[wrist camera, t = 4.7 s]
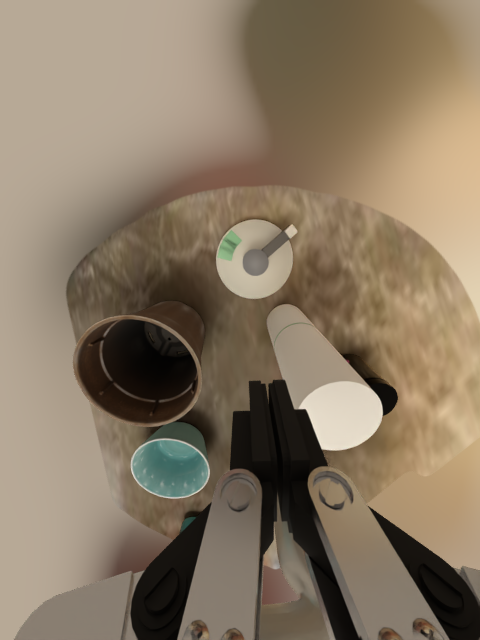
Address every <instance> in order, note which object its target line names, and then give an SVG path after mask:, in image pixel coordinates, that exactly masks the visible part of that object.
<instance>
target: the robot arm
mask: <svg viewBox="0 0 480 640" xmlns="http://www.w3.org/2000/svg"><path fill="white" fill-rule="evenodd" d="M249 394H250V411H233V423H232V441H231V460H230V471H228V472H227V473H225V474H224V475H223V476H222V477H221V478H220V480H219V481H218V483H217V485H216V488H215V492H214V496H213V500H212V502H211V503H210V504H209V505H208V506H207V507H206V508H205V509H204V510H203V511H202V512H201V513H200V514H199V515H198V516H197V517H196V518H195V519H194V520H193V521H192V522H191V523H190V524H189V525H188V526H187V527H186V528H185V529H184V530H183V531H182V532H181V533H180V534H179V535H178V536H177V537H176V538H175V539H174V540H173V541H172V542H171V543H170V544H169V545H168V546H167V547H166V549H164V550H163V551H162V552H161V553H160V554H159V556H157V557H156V558H155V559H154V560H153V561H152V562H151V563H150V565H149V566H148V567H147V568H146V570H144V571H141V572H138V573H135V574H133V573H132V571H129V572H126V573H123V574H120V575H117V576H114V577H111V578H108V579H105V580H102V581H99V582H96V583H93V584H90V585H86V586H83V587H80V588H77V589H74V590H72V591H69V592H65V593H62V594H59V595H56V596H55V597H53V598H51V599H49V600H47V601H45V602H44V603H43V604H42V605H41V606H39V607H38V608H37V609H36V610H35V611H34V612H33V613H32V614H31V615H30V616H29V618H28V619H27V620H26V622H25V623H24V624H23V625H22V627H21V628H20V630H19V632H18V633H17V635H16V637H15V639H14V640H480V570H476V569H472V568H468V567H465V566H462V568H461V570H460V569H456V568H453V567H451V566H450V565H449V564H448V563H446V562H445V561H444V560H443V559H442V558H440V557H439V556H437V555H436V554H434V553H433V552H432V551H430V550H429V549H428V548H426V547H425V546H423V545H422V544H421V543H419V542H418V541H416V540H415V539H414V538H412V537H411V536H409V535H408V534H407V533H405V532H404V531H402V530H401V529H400V528H398V527H397V526H395V525H394V524H393V523H391V522H390V521H388V520H387V519H386V518H384V517H383V516H381V515H380V514H378V513H377V512H376V511H374V510H373V509H371V508H370V507H369V506H367V504H366V502H365V501H364V499H363V497H362V496H361V494H360V493H359V491H358V489H357V488H356V486H355V484H354V483H353V482H352V481H351V479H350V478H349V477H348V476H347V475H345V474H344V473H343V472H341V471H339V470H338V469H336V468H332V467H328V465H327V462H326V459H325V457H324V454H323V452H322V449H321V446H320V444H319V441H318V438H317V436H316V433H315V431H314V428H313V425H312V423H311V420H310V418H309V415H308V412H307V410H306V409H294V407H293V403H292V400H291V397H290V394H289V391H288V387H287V384H286V381H285V380H273V383H269V404H268V398H267V391H266V385H265V384H261V381H249ZM274 526H275V535H276V544H277V554H278V560H279V564H280V567H281V569H282V572H283V574H284V576H285V578H286V580H287V582H288V583H289V585H290V586H291V587H292V589H293V590H294V592H295V593H296V594H297V596H298V597H299V600H297V601H292V602H288V603H278V604H268V605H262V582H263V561H264V554H265V552H266V551H267V549H268V548H269V546H270V545H271V543H272V542H273V540H274Z"/></svg>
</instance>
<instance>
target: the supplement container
mask: <svg viewBox="0 0 480 640" xmlns="http://www.w3.org/2000/svg"><path fill="white" fill-rule="evenodd" d="M342 357H343V358H344V359H345V360H346V361H347V362H348V363H349V364H350V366H351V367H352V368H353V369H354V370H355V371H356V372H357V373H358V374H359V376H360V377H361V378H362V379H363V380H364V381H365V382H366V383H367V384H368V385H369V387H370V388H371V389H372V390H373V391H374V392H375V393H376V394H377V396H378V397H379V399H380V401H381V404H382V407H383V415H382V416H384V415H386V414H388V413H389V412H390V411H392V410H393V408H394V407H395V405H396V403H397V400H398V396H397V392H396V390H395V389H394V388H393V387H392V386H391V385H390V384H389V383H388V382H387V381H386V380H384V379H383V378H382V377H381V376H380V375H379V374H378V373H377V372H376V371H374V370H373V369H372V368H371V367H370V366H369V365H368V364H367V363H366V362H365V361H364V360H363V359H362V358H360V357H359V356H357V355H352V354H348V355H344V356H342Z"/></svg>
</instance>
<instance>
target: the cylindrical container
mask: <svg viewBox="0 0 480 640" xmlns="http://www.w3.org/2000/svg"><path fill="white" fill-rule="evenodd" d="M267 328H268V331H269V334H270V338H271V341H272V344H273V348H274V351H275V354H276V358H277V361H278V365H279V368H280V371H281V375H282V378H283V380H285V381H286V384H287V387H288V391H289V394H290V397H291V400H292V403H293V407H294V409H306V410H307V412H308V415H309V418H310V420H311V423H312V425H313V428H314V431H315V433H316V436H317V438H318V441H319V444H320V446H321V449H324V450H344V449H349V448H352V447H355V446H357V445H359V444H361V443H363V442H364V441H366V440H367V439H368V438H370V437H371V436H372V435H373V434H374V433H375V431H376V430H377V429H378V427H379V425H380V423H381V420H382V415H383V407H382V404H381V401H380V399H379V397H378V396H377V394H376V393H375V392H374V391H373V390H372V389H371V388H370V387H369V385H368V384H367V383H366V382H365V381H364V380H363V379H362V378H361V377H360V376H359V374H358V373H357V372H356V371H355V370H354V369H353V368H352V367H351V366H350V364H349V363H348V362H347V361H346V360H345V359H344V358H343V357H342V356H341V355H340V353H339V352H338V351H337V350H336V349H335V348H334V347H333V346H332V345H331V343H330V342H329V341H328V340H327V339H326V338H325V337H324V336H323V335H322V334H321V332H320V331H319V330H318V329H317V328H316V327H315V326H314V325H313V324H312V323H311V321H310V320H309V319H308V318H307V317H306V316H305V315H304V314H303V313H302V312H301V310H300V309H299V308H297V307H296V306H294V305H290V304H283V305H279V306H277V307H275V308H274V309H273V310H272V311H271V312H270V313H269V315H268V318H267Z"/></svg>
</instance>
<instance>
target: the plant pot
mask: <svg viewBox="0 0 480 640" xmlns="http://www.w3.org/2000/svg"><path fill="white" fill-rule="evenodd" d="M148 331H149V332H150V333H151V335H152V338H153V339H154V341H155V342H154V343H153V342H152V341H151V339H150V337H149V334H148ZM168 338H171V340H168ZM204 338H205V328H204V324H203V321H202V319H201V317H200V316H199V314H198V313H197V312H196V311H195V310H194V309H193V308H192V307H189V306H187V305H186V304H184V303H182V302H179V301H164V302H160V303H157V304H155V305H153V306H151V307H149V308H146V309H144V310H142V311H139V312H136V313H130V314H126V315H117V316H113V317H109V318H106V319H104V320H101V321H99V322H97V323H96V324H94V325H93V326H91V327H90V328H89V329H88V330H87V331H86V332H85V333H84V334H83V335H82V337H81V338H80V340H79V341H78V343H77V345H76V348H75V351H74V356H73V369H74V374H75V377H76V380H77V383H78V385H79V386H80V388H81V390H82V392H83V393H84V395H85V396H86V397H87V399H88V400H89V401H90V402H91V403H92V404H93V405H94V406H95V407H96V408H97V409H99V410H100V411H101V412H103V413H104V414H106V415H108V416H109V417H111V418H113V419H115V420H118V421H120V422H123V423H126V424H130V425H134V426H142V427H154V426H160V425H165V424H168V423H171V422H173V421H175V420H177V419H179V418H181V417H182V416H184V415H185V414H186V413H187V412H188V411H189V410H190V409H191V408H192V407H193V406H194V404H195V403H196V401H197V399H198V397H199V394H200V391H201V386H202V369H201V354H202V348H203V343H204ZM185 350H189V351H188V352H186V353H183V354H177V352H181V351H185Z"/></svg>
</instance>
